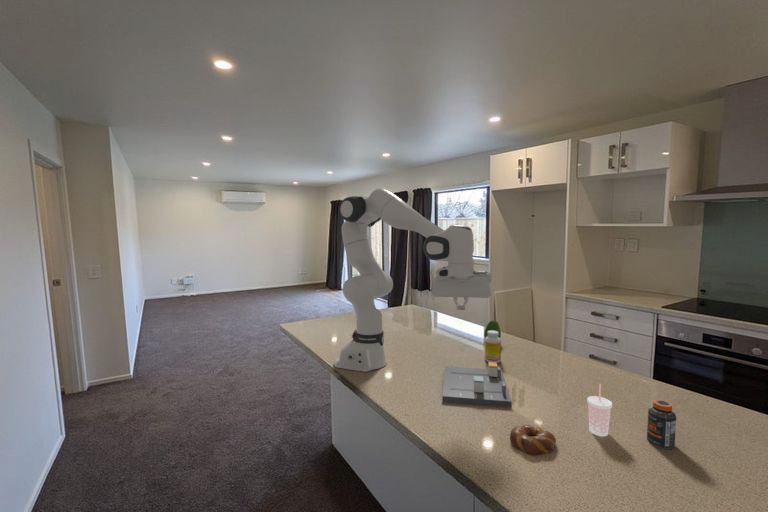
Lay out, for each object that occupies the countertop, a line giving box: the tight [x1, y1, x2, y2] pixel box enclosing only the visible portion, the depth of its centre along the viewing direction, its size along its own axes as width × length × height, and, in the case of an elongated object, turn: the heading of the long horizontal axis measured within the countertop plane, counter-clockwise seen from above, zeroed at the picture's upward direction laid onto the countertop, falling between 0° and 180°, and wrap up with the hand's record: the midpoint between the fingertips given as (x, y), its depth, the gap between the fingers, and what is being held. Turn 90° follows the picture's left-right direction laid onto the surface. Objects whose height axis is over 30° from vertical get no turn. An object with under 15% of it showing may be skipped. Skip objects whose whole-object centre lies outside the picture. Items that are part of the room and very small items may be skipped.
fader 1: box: [474, 376, 484, 393], centre depth 123 cm, size 3×4×4 cm
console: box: [442, 366, 513, 408], centre depth 130 cm, size 22×26×5 cm
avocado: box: [483, 320, 502, 339], centre depth 177 cm, size 8×8×12 cm
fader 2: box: [487, 362, 499, 377], centre depth 135 cm, size 3×4×4 cm
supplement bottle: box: [484, 330, 502, 364], centre depth 155 cm, size 7×7×13 cm
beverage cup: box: [586, 383, 613, 437], centre depth 100 cm, size 6×6×14 cm
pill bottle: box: [646, 399, 677, 450], centre depth 95 cm, size 6×6×11 cm
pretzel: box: [509, 424, 557, 456], centre depth 96 cm, size 12×11×4 cm
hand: (460, 309), depth 127 cm, fingers closed
